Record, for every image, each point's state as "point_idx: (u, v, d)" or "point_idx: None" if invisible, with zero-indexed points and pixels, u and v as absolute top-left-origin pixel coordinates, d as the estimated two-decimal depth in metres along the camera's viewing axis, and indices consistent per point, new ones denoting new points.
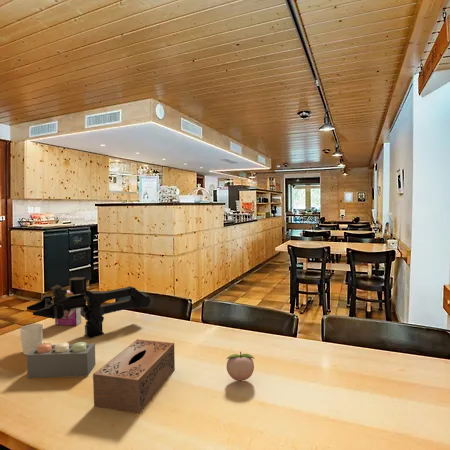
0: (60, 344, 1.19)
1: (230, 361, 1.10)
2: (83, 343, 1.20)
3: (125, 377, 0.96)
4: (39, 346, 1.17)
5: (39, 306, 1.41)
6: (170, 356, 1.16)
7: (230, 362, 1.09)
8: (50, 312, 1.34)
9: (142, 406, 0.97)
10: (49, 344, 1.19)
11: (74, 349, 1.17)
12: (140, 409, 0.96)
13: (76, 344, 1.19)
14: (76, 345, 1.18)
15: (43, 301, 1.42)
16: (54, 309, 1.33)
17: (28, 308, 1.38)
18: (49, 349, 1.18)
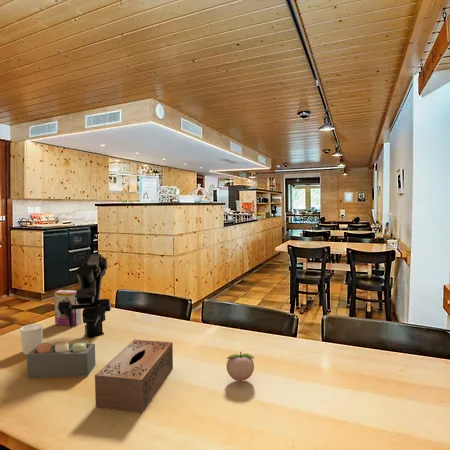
0: (60, 344, 1.19)
1: (230, 361, 1.10)
2: (83, 343, 1.20)
3: (128, 377, 0.96)
4: (39, 346, 1.17)
5: (71, 316, 1.29)
6: (169, 355, 1.17)
7: (230, 362, 1.09)
8: None
9: (145, 405, 0.97)
10: (49, 344, 1.19)
11: (74, 349, 1.17)
12: (143, 408, 0.96)
13: (76, 344, 1.19)
14: (76, 345, 1.18)
15: (71, 310, 1.29)
16: (104, 307, 1.33)
17: (71, 326, 1.27)
18: (49, 349, 1.18)
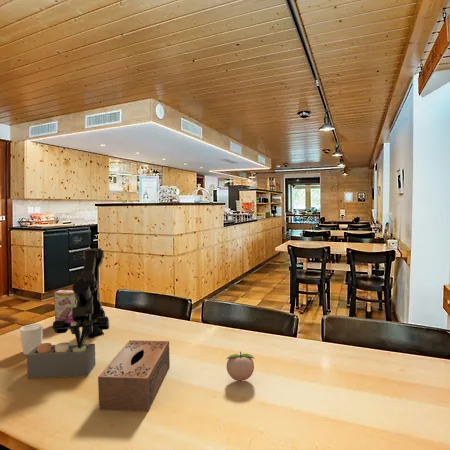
0: (60, 344, 1.19)
1: (230, 361, 1.10)
2: (83, 347, 1.20)
3: (133, 376, 0.96)
4: (39, 346, 1.17)
5: (79, 334, 1.22)
6: (167, 354, 1.18)
7: (230, 362, 1.09)
8: (85, 331, 1.23)
9: (150, 404, 0.98)
10: (49, 344, 1.19)
11: None
12: (149, 407, 0.97)
13: (76, 348, 1.19)
14: (76, 349, 1.18)
15: (78, 328, 1.22)
16: (91, 327, 1.23)
17: None
18: (49, 349, 1.18)
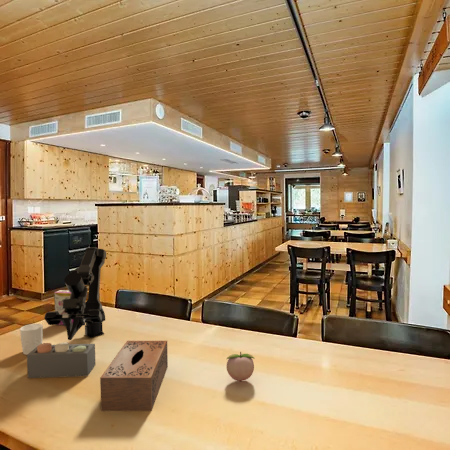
0: (60, 344, 1.19)
1: (230, 361, 1.10)
2: (83, 347, 1.20)
3: (136, 376, 0.96)
4: (39, 346, 1.17)
5: (70, 327, 1.21)
6: (165, 354, 1.18)
7: (230, 362, 1.09)
8: (77, 324, 1.22)
9: (153, 403, 0.98)
10: (49, 344, 1.19)
11: None
12: (152, 406, 0.97)
13: (76, 348, 1.19)
14: (76, 349, 1.18)
15: (70, 320, 1.21)
16: (83, 319, 1.22)
17: None
18: (49, 349, 1.18)
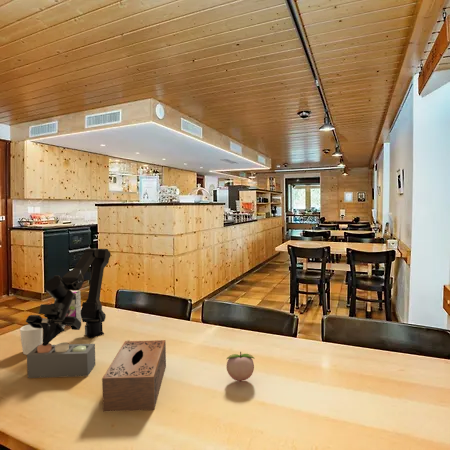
0: (60, 344, 1.19)
1: (230, 361, 1.10)
2: (83, 347, 1.20)
3: (139, 376, 0.96)
4: (39, 346, 1.17)
5: None
6: (164, 353, 1.19)
7: (230, 362, 1.09)
8: (55, 329, 1.22)
9: (155, 402, 0.99)
10: (49, 344, 1.19)
11: None
12: (154, 405, 0.97)
13: (76, 348, 1.19)
14: (76, 349, 1.18)
15: (47, 326, 1.21)
16: (60, 326, 1.22)
17: None
18: (49, 349, 1.18)
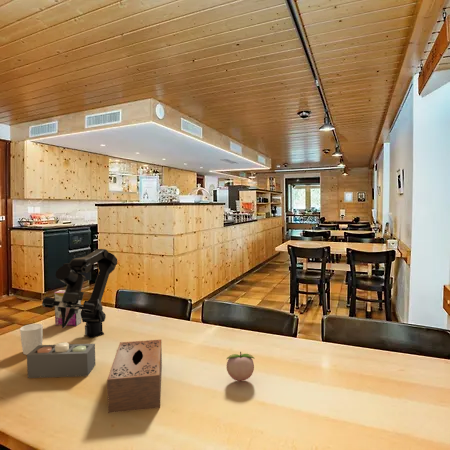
0: (60, 344, 1.19)
1: (230, 361, 1.10)
2: (83, 347, 1.20)
3: (144, 375, 0.97)
4: (39, 350, 1.18)
5: (64, 315, 1.31)
6: None
7: (230, 362, 1.09)
8: None
9: None
10: (49, 348, 1.19)
11: None
12: None
13: (76, 348, 1.19)
14: (76, 349, 1.18)
15: (65, 310, 1.30)
16: None
17: None
18: None
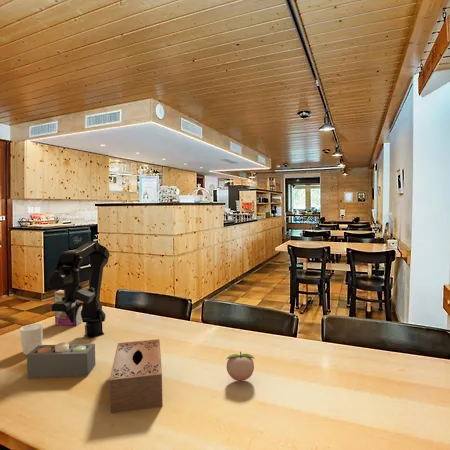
0: (60, 344, 1.19)
1: (230, 361, 1.10)
2: (83, 347, 1.20)
3: (146, 374, 0.97)
4: (39, 350, 1.18)
5: None
6: None
7: (230, 362, 1.09)
8: None
9: None
10: (49, 348, 1.19)
11: None
12: None
13: (76, 348, 1.19)
14: (76, 349, 1.18)
15: None
16: None
17: None
18: None
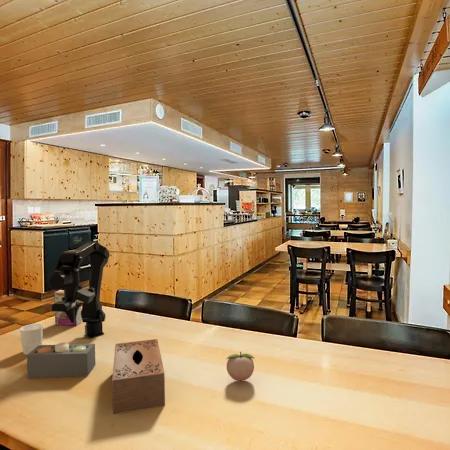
0: (60, 344, 1.19)
1: (230, 361, 1.10)
2: (83, 347, 1.20)
3: (149, 374, 0.98)
4: (39, 350, 1.18)
5: None
6: None
7: (230, 362, 1.09)
8: None
9: None
10: (49, 348, 1.19)
11: None
12: (164, 401, 1.00)
13: (76, 348, 1.19)
14: (76, 349, 1.18)
15: None
16: None
17: None
18: None
